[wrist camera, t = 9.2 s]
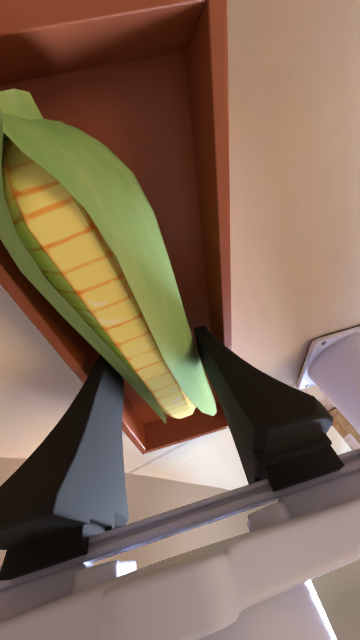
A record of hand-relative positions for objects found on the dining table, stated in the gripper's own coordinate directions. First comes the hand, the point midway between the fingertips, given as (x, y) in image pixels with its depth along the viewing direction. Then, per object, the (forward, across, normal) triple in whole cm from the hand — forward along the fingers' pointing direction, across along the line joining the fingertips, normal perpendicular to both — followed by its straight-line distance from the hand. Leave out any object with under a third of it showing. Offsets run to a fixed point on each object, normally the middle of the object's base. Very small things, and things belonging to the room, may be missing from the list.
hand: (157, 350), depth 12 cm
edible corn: (+2, 0, -1) cm, 2 cm away
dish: (+2, 0, 0) cm, 2 cm away
